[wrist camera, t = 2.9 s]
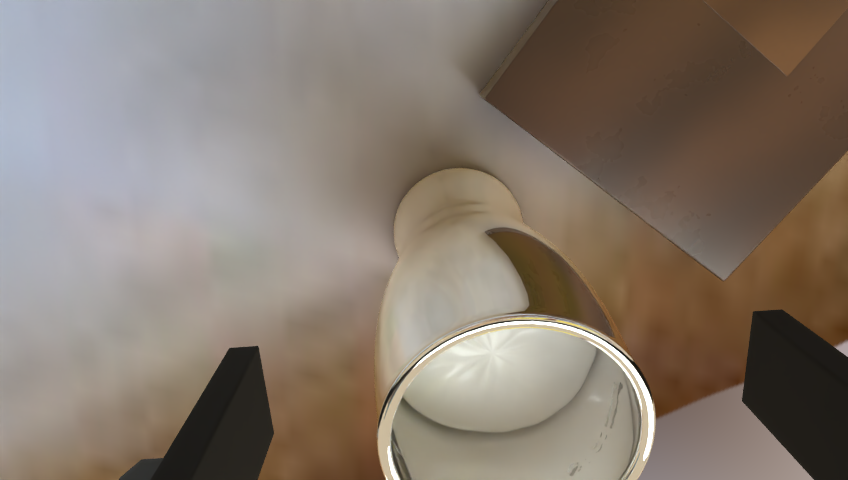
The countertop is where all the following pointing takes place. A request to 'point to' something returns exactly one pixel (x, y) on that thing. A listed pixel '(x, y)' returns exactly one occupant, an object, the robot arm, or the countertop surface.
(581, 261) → the countertop surface
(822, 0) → the serving board
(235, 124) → the countertop surface
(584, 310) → the beer glass
